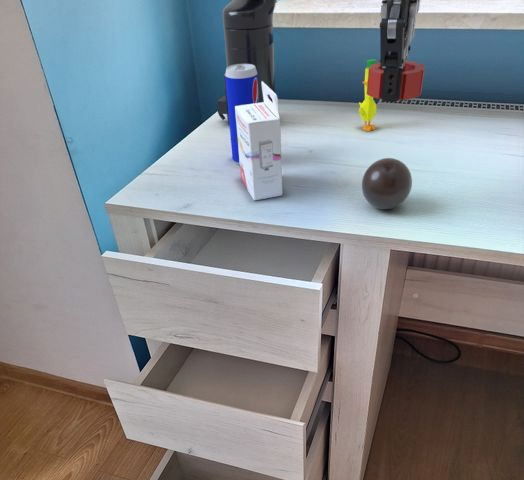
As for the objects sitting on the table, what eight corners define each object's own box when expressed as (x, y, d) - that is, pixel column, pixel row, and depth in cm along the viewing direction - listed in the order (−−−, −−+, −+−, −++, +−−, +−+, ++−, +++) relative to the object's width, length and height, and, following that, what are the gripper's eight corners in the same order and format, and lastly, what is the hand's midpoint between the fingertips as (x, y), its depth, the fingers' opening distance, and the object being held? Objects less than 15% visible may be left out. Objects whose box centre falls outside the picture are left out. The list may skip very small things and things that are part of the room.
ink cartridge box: (239, 180, 86) (231, 83, 76) (267, 175, 87) (263, 79, 77) (253, 201, 80) (246, 99, 70) (283, 196, 80) (281, 94, 71)
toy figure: (388, 131, 99) (396, 61, 92) (375, 136, 98) (382, 65, 90) (363, 123, 104) (368, 55, 96) (350, 127, 102) (354, 59, 94)
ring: (363, 99, 66) (365, 73, 64) (372, 84, 71) (374, 60, 69) (418, 101, 65) (422, 74, 63) (423, 86, 69) (426, 61, 67)
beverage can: (262, 165, 90) (258, 70, 80) (233, 167, 90) (224, 72, 80) (260, 154, 94) (256, 62, 84) (232, 156, 94) (224, 64, 84)
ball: (355, 215, 75) (359, 167, 70) (364, 194, 80) (368, 148, 75) (405, 220, 73) (412, 172, 68) (411, 199, 78) (418, 152, 73)
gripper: (383, -79, 60) (370, 83, 72) (361, -72, 51) (351, 114, 62) (450, -83, 58) (426, 85, 70) (441, -76, 49) (415, 117, 60)
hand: (391, 98), depth 66 cm, fingers closed on ring, 1 cm apart
